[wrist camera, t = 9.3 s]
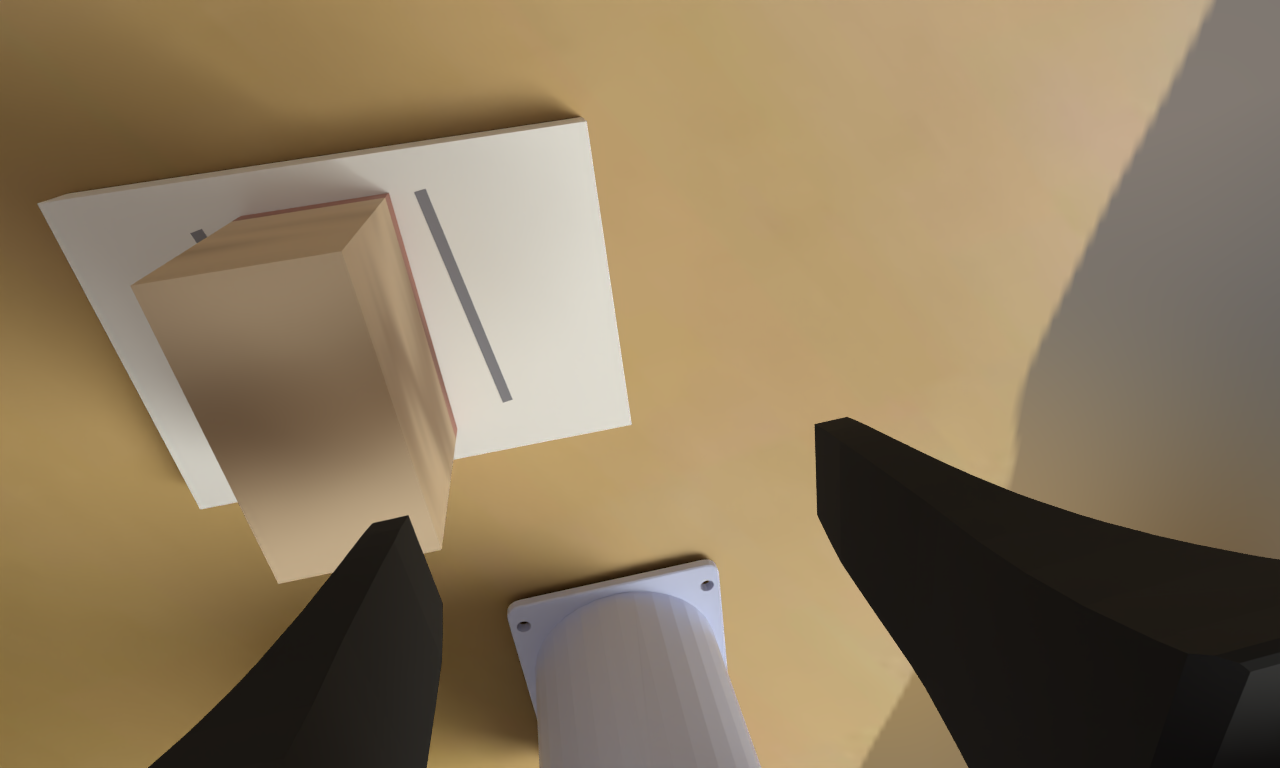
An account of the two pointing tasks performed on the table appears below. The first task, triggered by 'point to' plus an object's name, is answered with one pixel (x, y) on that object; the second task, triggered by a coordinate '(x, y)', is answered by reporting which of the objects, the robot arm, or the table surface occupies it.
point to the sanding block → (311, 376)
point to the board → (440, 263)
